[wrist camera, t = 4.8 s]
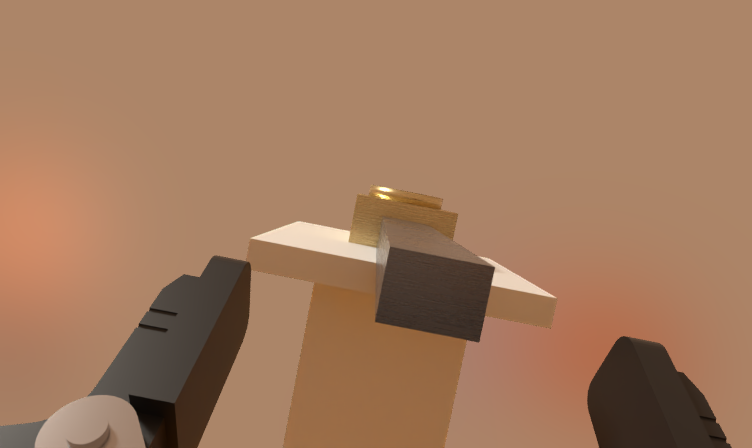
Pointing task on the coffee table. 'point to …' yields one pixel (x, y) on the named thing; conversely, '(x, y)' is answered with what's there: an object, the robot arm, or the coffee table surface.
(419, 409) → the white pillar
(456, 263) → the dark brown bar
